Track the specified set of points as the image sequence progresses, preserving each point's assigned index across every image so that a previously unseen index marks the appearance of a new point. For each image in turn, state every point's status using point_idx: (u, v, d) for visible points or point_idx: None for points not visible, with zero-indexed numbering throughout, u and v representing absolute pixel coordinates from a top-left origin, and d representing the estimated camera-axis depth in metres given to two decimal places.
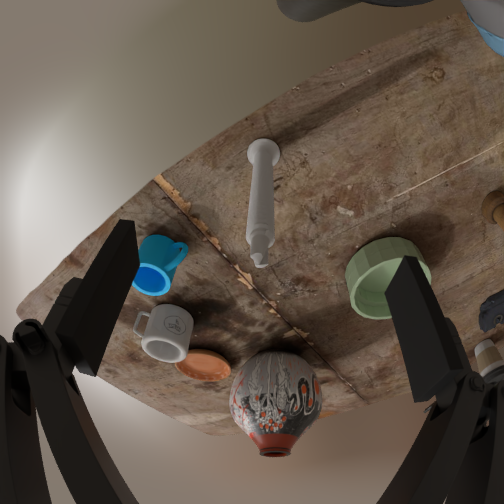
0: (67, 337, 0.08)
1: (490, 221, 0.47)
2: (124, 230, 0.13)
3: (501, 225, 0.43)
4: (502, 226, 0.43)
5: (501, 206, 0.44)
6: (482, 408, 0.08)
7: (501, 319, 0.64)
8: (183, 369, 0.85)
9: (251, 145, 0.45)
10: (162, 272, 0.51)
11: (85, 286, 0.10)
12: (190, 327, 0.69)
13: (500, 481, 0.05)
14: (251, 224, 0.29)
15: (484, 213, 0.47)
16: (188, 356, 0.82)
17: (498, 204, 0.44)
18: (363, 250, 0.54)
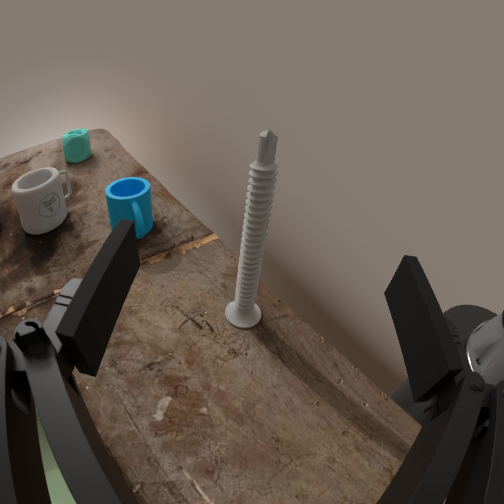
0: (67, 337, 0.08)
1: None
2: (124, 230, 0.13)
3: None
4: None
5: None
6: (482, 408, 0.08)
7: None
8: None
9: None
10: (134, 196, 0.48)
11: (85, 286, 0.10)
12: (33, 222, 0.48)
13: (500, 481, 0.05)
14: None
15: None
16: None
17: None
18: None
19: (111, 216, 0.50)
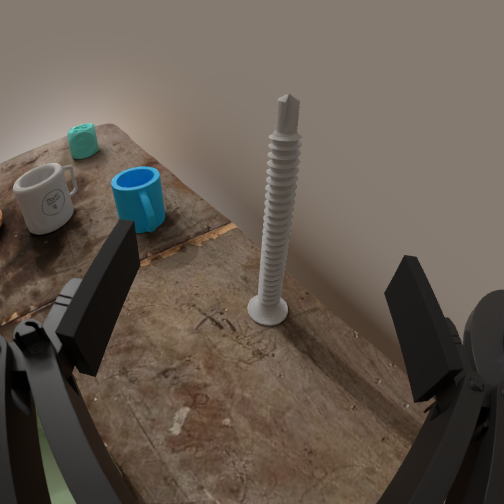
0: (67, 337, 0.08)
1: None
2: (124, 230, 0.13)
3: None
4: None
5: None
6: (482, 408, 0.08)
7: None
8: None
9: None
10: (142, 186, 0.44)
11: (85, 286, 0.10)
12: (37, 221, 0.45)
13: (500, 481, 0.05)
14: None
15: None
16: None
17: None
18: None
19: (119, 209, 0.47)
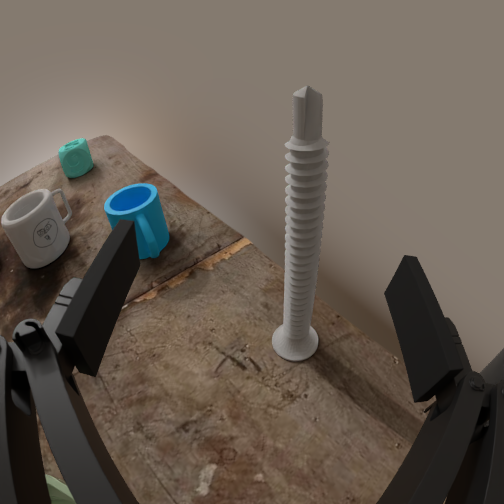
0: (67, 337, 0.08)
1: None
2: (124, 230, 0.13)
3: None
4: None
5: None
6: (482, 408, 0.08)
7: None
8: None
9: None
10: (138, 208, 0.39)
11: (85, 286, 0.10)
12: (31, 255, 0.41)
13: (500, 481, 0.05)
14: None
15: None
16: None
17: None
18: None
19: None
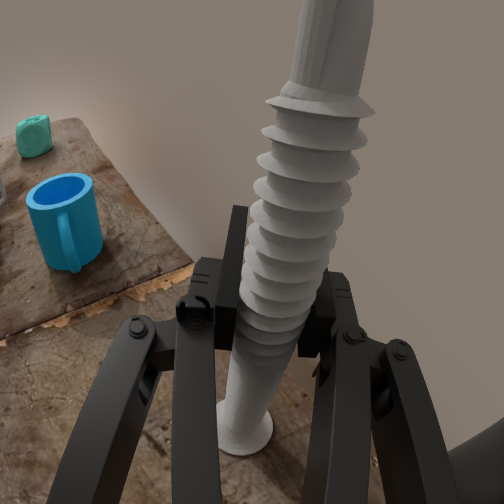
0: (229, 309, 0.10)
1: None
2: (243, 214, 0.15)
3: None
4: None
5: None
6: None
7: None
8: None
9: None
10: (62, 204, 0.26)
11: (229, 263, 0.12)
12: None
13: (434, 454, 0.06)
14: None
15: None
16: None
17: None
18: None
19: (36, 235, 0.28)
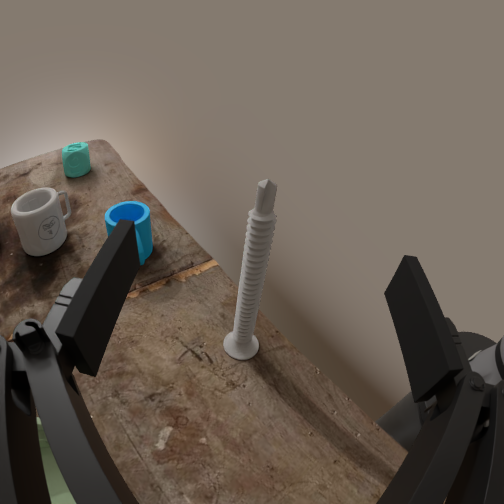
0: (67, 337, 0.08)
1: None
2: (124, 230, 0.13)
3: None
4: None
5: None
6: (482, 408, 0.08)
7: None
8: None
9: None
10: None
11: (85, 286, 0.10)
12: (33, 244, 0.48)
13: (500, 481, 0.05)
14: None
15: None
16: None
17: None
18: None
19: None
